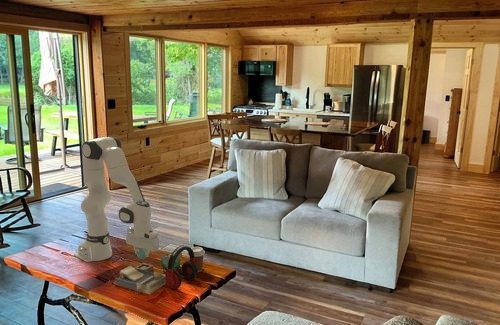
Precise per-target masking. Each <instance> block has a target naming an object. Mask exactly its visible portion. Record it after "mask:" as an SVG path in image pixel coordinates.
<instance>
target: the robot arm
mask: <svg viewBox="0 0 500 325" xmlns="http://www.w3.org/2000/svg"><path fill="white" fill-rule="evenodd" d="M81 152H82V155H83V158H82V160H83V161H82V162H83V163H82V166H83V167H82V169H83V179H84V185H86V186H87V190H88V195H87V196H86V197H84V198H83V200H82V202H81V205H80V208H81V210H82V212H83V213H84V216H85V218H86V223H87V233H86V234H84V236H85V237H86V239H84V240H83V241H82V242H80V243H79V244H78V246H77V250H76V251H75V252H74V253H73V257H75V258H78V259H80V260H82V261H84V262H86V263H89V262H99V261H104V260H107V259H110V258H111V257H112V256H113V249H112V246H111V240H110V231H109V220H108V218H107V217H106V213H105V207H107V206H108V205H109V203H110V202H111V198H112V194H111V193H110V191H109V189H108V188H109V187H108V186H107V182H106V181H107V180H106V173H105V168H106V171H107V174H108V178H109V179H110V180H111V182H113V183H114V184H118V185H122V186H124V187H126V188H127V189H128V190H129V193H130V196H131V198H132V201H133V203H129V204H127V205H124V206H122V207H120V209H119V210H118V218H119V221H121V223H123V224H133V228H132V227H129V228H127V232H126V235H125V236H126V237H125V243H126V244H127V245H128V246H132V247H133V250H134V254H135V255H137V253H138V251H139V250H140V249H141V250H145V251H146V253H145V254H144V257H145V258H149V256H150V255H149V254H150V252H151V253H152V252H153V253H156V252H157V251H158V250H159V248H160V247H159V246H160V244H159V243H160V240H159V237H158V236H159V232H158V231H157V230H155V229H154V228H153V227H152V224H151V220H152V209H151V203H149V202H148V201H146V199H145V197H144V195H143V192H142V189H141V187H140V184H139V182H138V180H137V177H136V176H135V175H134V174H133V173H132V172H131V170H130V167H129V164H128V161H127V158H126V155H125V152H124V150H123V149H122V143H121V140H120V139H119V138H118V137H116V136H103V137H97V138H94V139H88V140H86V141H84V142H83V143H82V144H81Z"/></svg>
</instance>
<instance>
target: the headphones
mask: <svg viewBox="0 0 500 325" xmlns="http://www.w3.org/2000/svg"><path fill="white" fill-rule="evenodd" d="M191 248H192V247H190V246H187V245H179V246H177V247H176V248H175V249H174V250H173V251H172V252H171V253H172V254H171V256H170V258H169V261H168V268H167V272H166V273H165V274H164V275H165V280H166V285H167V286H168V287H170V289H172V290H177V289H179V288H180V287H181V285H182V276H181V274H180V272H179V271H178V272H177V271H176V270H174V269H173V267H174V263H175V260H176V258H177V257H178V255H179V254H180V253H182V252H183V251H187V255H188V258H189V259H188V260H186V261H185V262H183V263H182V265H181V272H182V275H183V276H184V277H185V278H186V279H187V280H189V281H190V280H191V281H193V280H194V279H196V278H197V277H198V272H197V267H196V265H195V258H194V252H193V250H192V249H191Z"/></svg>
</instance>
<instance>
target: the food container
mask: <svg viewBox="0 0 500 325" xmlns="http://www.w3.org/2000/svg"><path fill="white" fill-rule="evenodd" d="M171 254H172V252H171V253H168V254H164V255H163V254H160V257H159V259H160V260H161V268H162V272H163V273H164V274H166V272H167V268H168V261H169V258H170V256H171ZM182 257H183V253H182V252H181V253H180V254H179V255H178V257H177V258H176V260H175V263H174V267H173V269H174V270H176V271H177V272H178V273H179V271H180V269H181V268H180V267H181V258H182Z"/></svg>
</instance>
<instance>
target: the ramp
mask: <svg viewBox="0 0 500 325" xmlns="http://www.w3.org/2000/svg"><path fill="white" fill-rule="evenodd" d="M125 277H128V278H129V279H131V280H132V281H134V282H136V281H137V280H139V279H141V278H142V277H144V274H142V273H141V272H139V271H138V270H136V269H135V267H133V266H132V265H128V266H127V267H125V268H123V269H121V270H120V271H119V278H122V279H124V278H125Z"/></svg>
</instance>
